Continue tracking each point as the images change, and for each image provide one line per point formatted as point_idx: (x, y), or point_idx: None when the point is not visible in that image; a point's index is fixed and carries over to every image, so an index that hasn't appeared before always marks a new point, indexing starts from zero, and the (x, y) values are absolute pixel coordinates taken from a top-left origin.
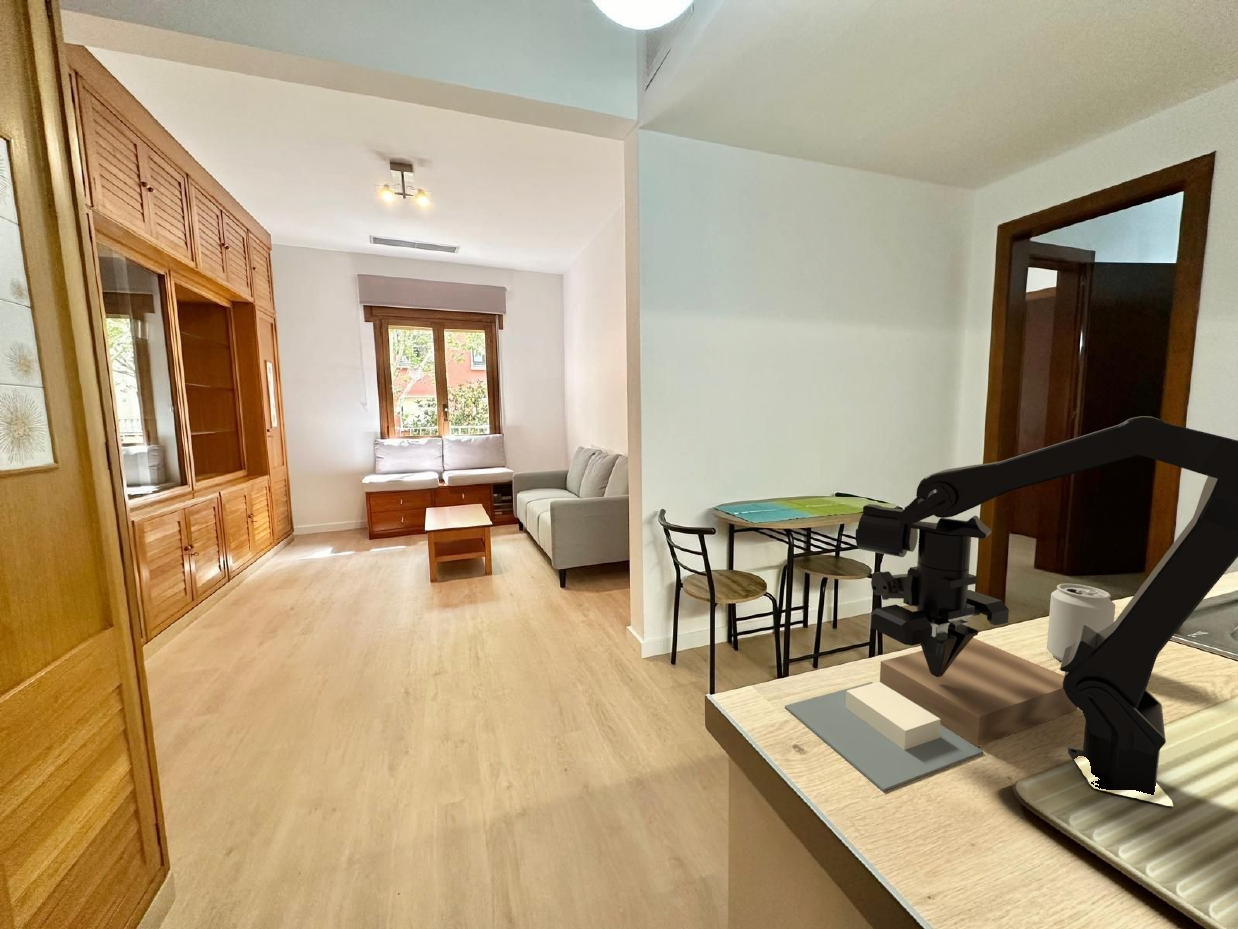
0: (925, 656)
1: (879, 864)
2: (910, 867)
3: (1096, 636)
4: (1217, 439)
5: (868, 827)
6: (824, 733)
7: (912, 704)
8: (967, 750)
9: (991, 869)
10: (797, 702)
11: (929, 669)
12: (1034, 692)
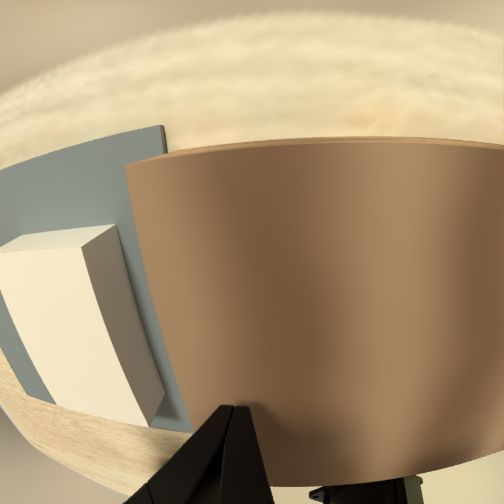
0: (168, 464)
1: (13, 419)
2: (33, 433)
3: None
4: None
5: (10, 402)
6: None
7: (115, 374)
8: (192, 426)
9: (92, 467)
10: None
11: (208, 418)
12: (460, 458)
